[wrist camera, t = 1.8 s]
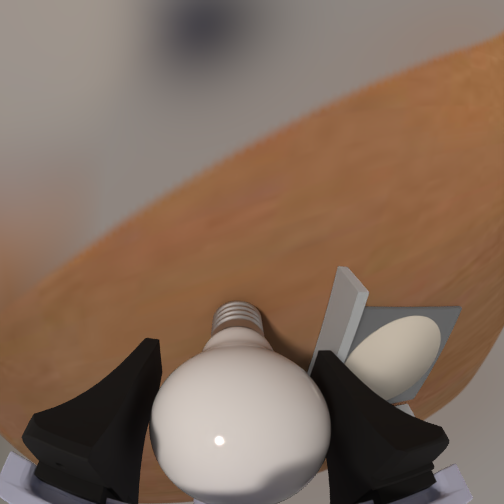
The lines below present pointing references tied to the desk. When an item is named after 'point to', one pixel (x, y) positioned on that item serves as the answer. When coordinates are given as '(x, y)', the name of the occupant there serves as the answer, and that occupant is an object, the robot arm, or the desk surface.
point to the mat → (399, 347)
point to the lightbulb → (239, 418)
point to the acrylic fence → (343, 318)
